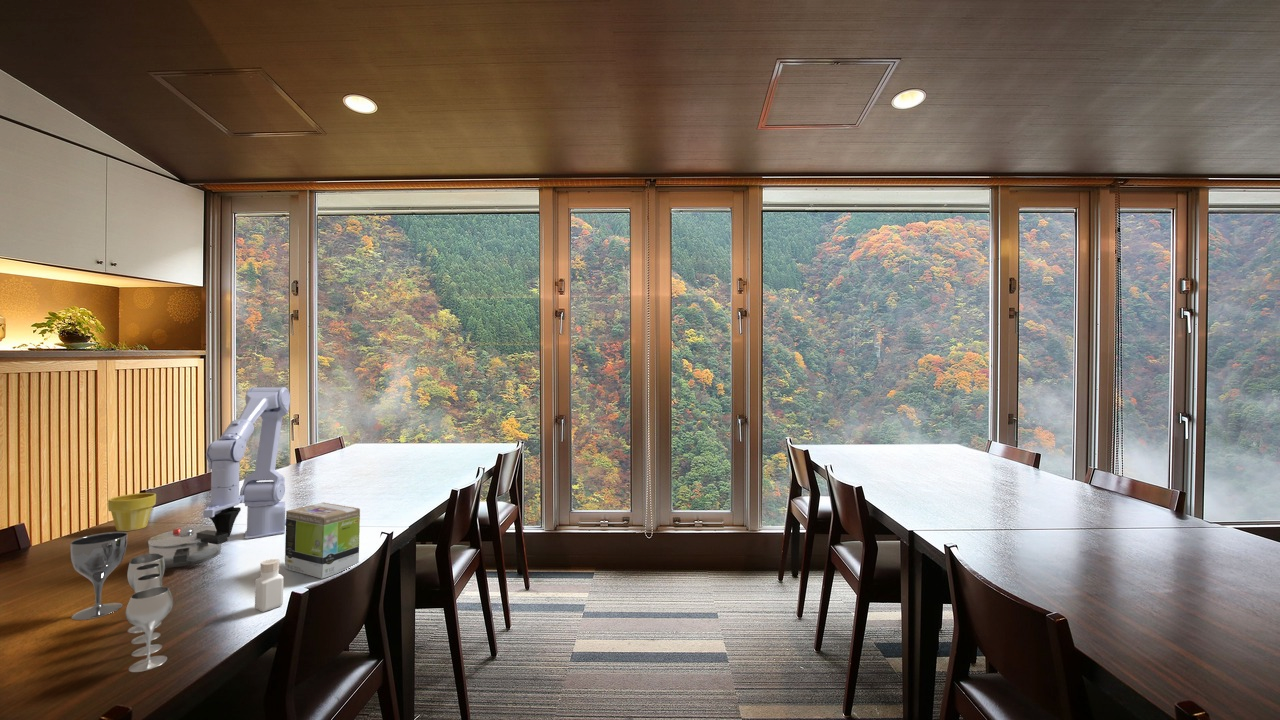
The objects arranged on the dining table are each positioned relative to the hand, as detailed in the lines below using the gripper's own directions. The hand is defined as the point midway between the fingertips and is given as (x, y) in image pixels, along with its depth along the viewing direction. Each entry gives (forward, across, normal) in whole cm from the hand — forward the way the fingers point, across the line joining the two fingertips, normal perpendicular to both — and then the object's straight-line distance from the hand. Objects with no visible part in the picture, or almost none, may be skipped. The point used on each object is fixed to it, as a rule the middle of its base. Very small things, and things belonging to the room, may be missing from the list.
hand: (224, 537), depth 132 cm
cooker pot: (+5, +1, -8) cm, 10 cm away
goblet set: (+6, +42, +9) cm, 43 cm away
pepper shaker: (+6, +33, +25) cm, 41 cm away
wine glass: (+6, +28, -8) cm, 30 cm away
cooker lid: (0, -1, -7) cm, 7 cm away
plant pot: (+6, -33, -41) cm, 53 cm away
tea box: (+6, +12, +27) cm, 30 cm away
